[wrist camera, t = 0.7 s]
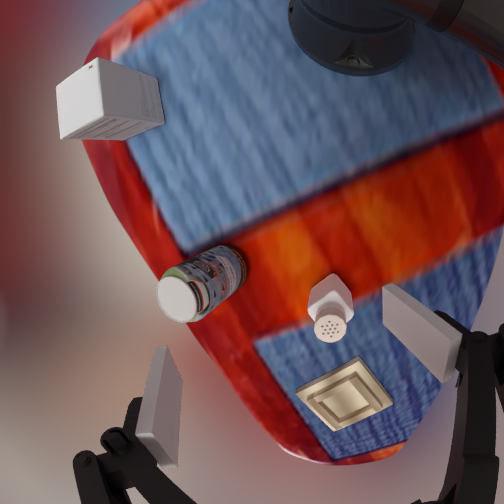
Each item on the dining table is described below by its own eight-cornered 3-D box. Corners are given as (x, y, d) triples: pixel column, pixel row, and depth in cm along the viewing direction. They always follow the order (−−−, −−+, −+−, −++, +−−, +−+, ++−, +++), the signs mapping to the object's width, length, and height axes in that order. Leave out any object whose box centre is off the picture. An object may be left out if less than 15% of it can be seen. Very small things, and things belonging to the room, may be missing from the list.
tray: (358, 355, 38) (359, 366, 36) (392, 398, 38) (394, 409, 36) (296, 388, 42) (294, 399, 40) (334, 426, 42) (333, 436, 40)
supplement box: (117, 96, 36) (54, 84, 24) (158, 77, 34) (98, 54, 22) (124, 142, 38) (58, 141, 26) (166, 125, 36) (103, 115, 24)
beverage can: (253, 286, 39) (223, 333, 28) (202, 287, 41) (158, 330, 30) (246, 239, 37) (211, 271, 26) (193, 243, 39) (143, 273, 28)
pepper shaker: (328, 310, 37) (325, 352, 28) (308, 288, 37) (301, 325, 28) (353, 293, 36) (358, 332, 27) (333, 269, 36) (334, 303, 27)
